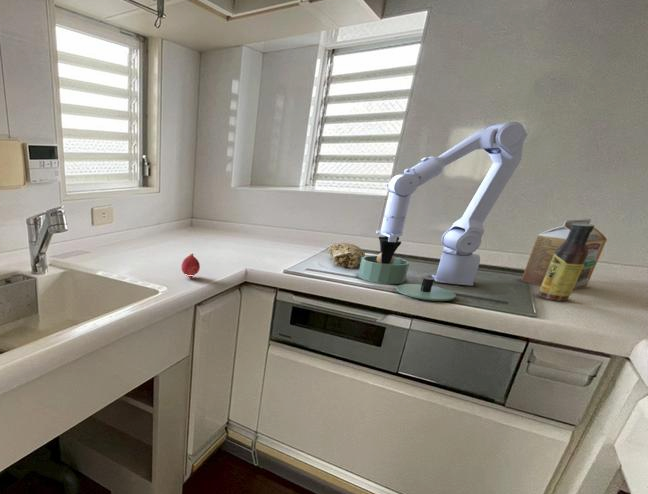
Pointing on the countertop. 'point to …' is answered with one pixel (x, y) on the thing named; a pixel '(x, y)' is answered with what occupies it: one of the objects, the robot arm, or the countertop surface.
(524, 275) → the milk carton
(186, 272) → the onion
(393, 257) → the orange brown ball
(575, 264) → the sauce bottle
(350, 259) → the tan brown irregular lump
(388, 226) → the robot arm
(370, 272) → the green faceted bin
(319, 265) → the countertop surface
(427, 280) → the bin lid
